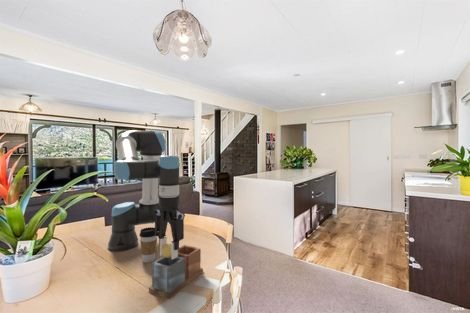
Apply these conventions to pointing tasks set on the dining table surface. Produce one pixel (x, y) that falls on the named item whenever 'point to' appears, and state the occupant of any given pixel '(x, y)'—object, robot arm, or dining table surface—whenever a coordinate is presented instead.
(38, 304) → the dining table surface
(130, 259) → the dining table surface
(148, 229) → the coffee cup
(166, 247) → the ochre ball
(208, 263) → the dining table surface
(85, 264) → the dining table surface
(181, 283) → the desk organizer
